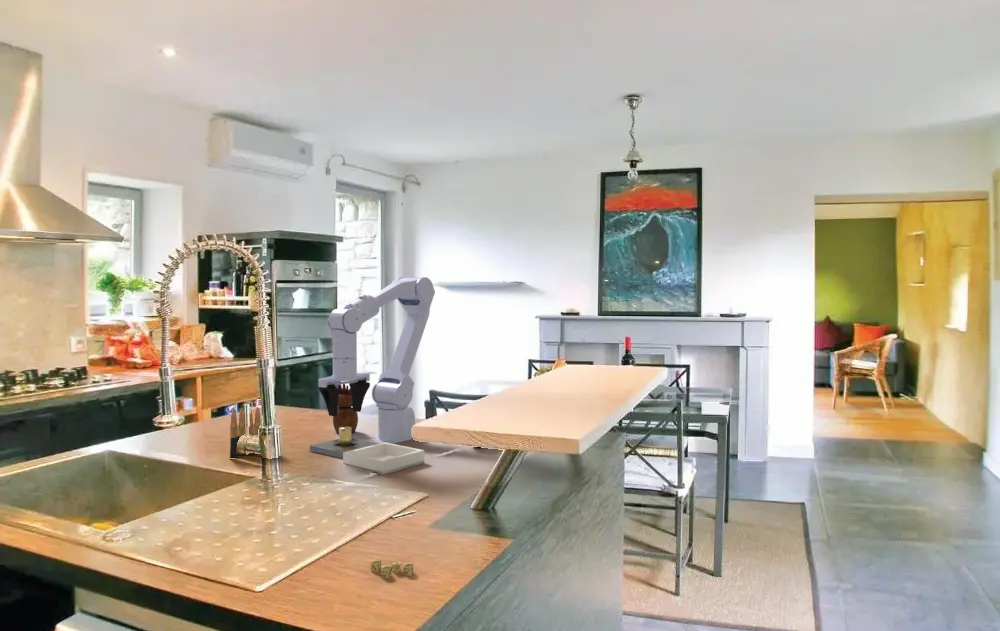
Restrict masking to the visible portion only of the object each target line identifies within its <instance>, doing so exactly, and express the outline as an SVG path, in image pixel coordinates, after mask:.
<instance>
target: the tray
mask: <svg viewBox="0 0 1000 631" xmlns="http://www.w3.org/2000/svg"><path fill="white" fill-rule="evenodd" d="M379 443H380V444H376V445H372V446H368V447H364V448H360V449H356V450H352V451H348V452H343V459H342V463H343V464H346V465H350V466H354V467H358V468H361V469H362V468H363V469H367V470H371V471H373V472H372V473H373V474H376V475H377V474H378V475H381V476H386V475H389V474H392V473H395V472H399V471H402V470H406V469H409V468H412V467H413V468H414V467H415V466H419V465H423V464H425V450H424V449H420V448H416V447H415V448H414V447H410V446H406V445H399V444H397V443H394V444H391V443H386V442H379Z"/></svg>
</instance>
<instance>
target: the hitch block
mask: <svg viewBox="0 0 1000 631" xmlns="http://www.w3.org/2000/svg"><path fill="white" fill-rule="evenodd" d="M380 443H381V442H376V441H375V442H374V441H370V440H364V439H359V438H354V437H352V446H349V447H340V446H339V438H337V439H333V440H328V441H324V442H320V443H319V442H318V443H314V444H309V452H311V453H315V454H319V455H324V456H328V457H332V458H337V459H340V460H343V452H348V451H352V450H356V449H360V448H364V447H368V446H372V445H376V444H380Z"/></svg>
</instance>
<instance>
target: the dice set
mask: <svg viewBox="0 0 1000 631" xmlns="http://www.w3.org/2000/svg"><path fill="white" fill-rule="evenodd" d="M401 566H402V565H401V562H400V561H398V560H397V561H392V563H391V564H390V565H389V564H388V565H387V564H384V565H382V560H380V559H372V560H371V561H370V571H371V572H372V573H378V572H379V573H380V578H382V579H389V578H391V576H392V574H391V573H394V574H398V573H399V574H400V573H403V576H409V577H410V576H412V575H414V563H412V562H405V563H403V570H402V569H401V568H402V567H401ZM402 571H403V572H402Z"/></svg>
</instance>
